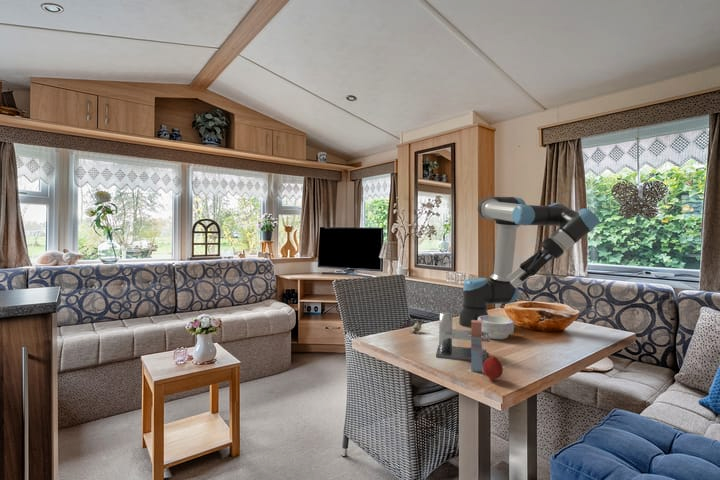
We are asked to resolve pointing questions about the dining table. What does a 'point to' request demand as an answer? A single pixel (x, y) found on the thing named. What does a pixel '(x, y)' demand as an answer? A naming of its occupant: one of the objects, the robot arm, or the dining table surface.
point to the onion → (492, 368)
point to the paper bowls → (497, 326)
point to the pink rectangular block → (476, 328)
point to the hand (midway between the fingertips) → (510, 282)
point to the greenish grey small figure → (417, 326)
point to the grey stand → (460, 353)
